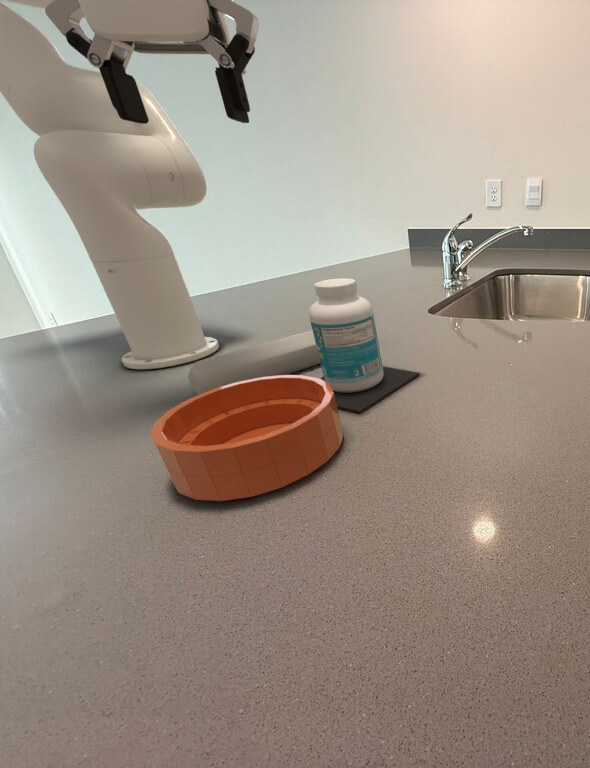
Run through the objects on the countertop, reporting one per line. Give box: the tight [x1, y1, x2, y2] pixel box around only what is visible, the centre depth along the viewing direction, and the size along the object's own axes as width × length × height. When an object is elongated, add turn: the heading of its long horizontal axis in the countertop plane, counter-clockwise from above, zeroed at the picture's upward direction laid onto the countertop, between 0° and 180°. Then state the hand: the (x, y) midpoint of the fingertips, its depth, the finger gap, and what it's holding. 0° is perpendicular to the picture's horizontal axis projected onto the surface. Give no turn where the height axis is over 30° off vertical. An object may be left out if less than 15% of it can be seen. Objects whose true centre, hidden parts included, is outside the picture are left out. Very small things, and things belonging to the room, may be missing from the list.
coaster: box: [319, 365, 421, 415], centre depth 55 cm, size 12×12×1 cm
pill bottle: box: [308, 277, 384, 393], centre depth 52 cm, size 8×7×14 cm
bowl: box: [149, 374, 344, 502], centre depth 39 cm, size 15×15×6 cm
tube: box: [187, 329, 321, 395], centre depth 59 cm, size 5×5×25 cm
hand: (187, 121), depth 40 cm, fingers open, 9 cm apart
